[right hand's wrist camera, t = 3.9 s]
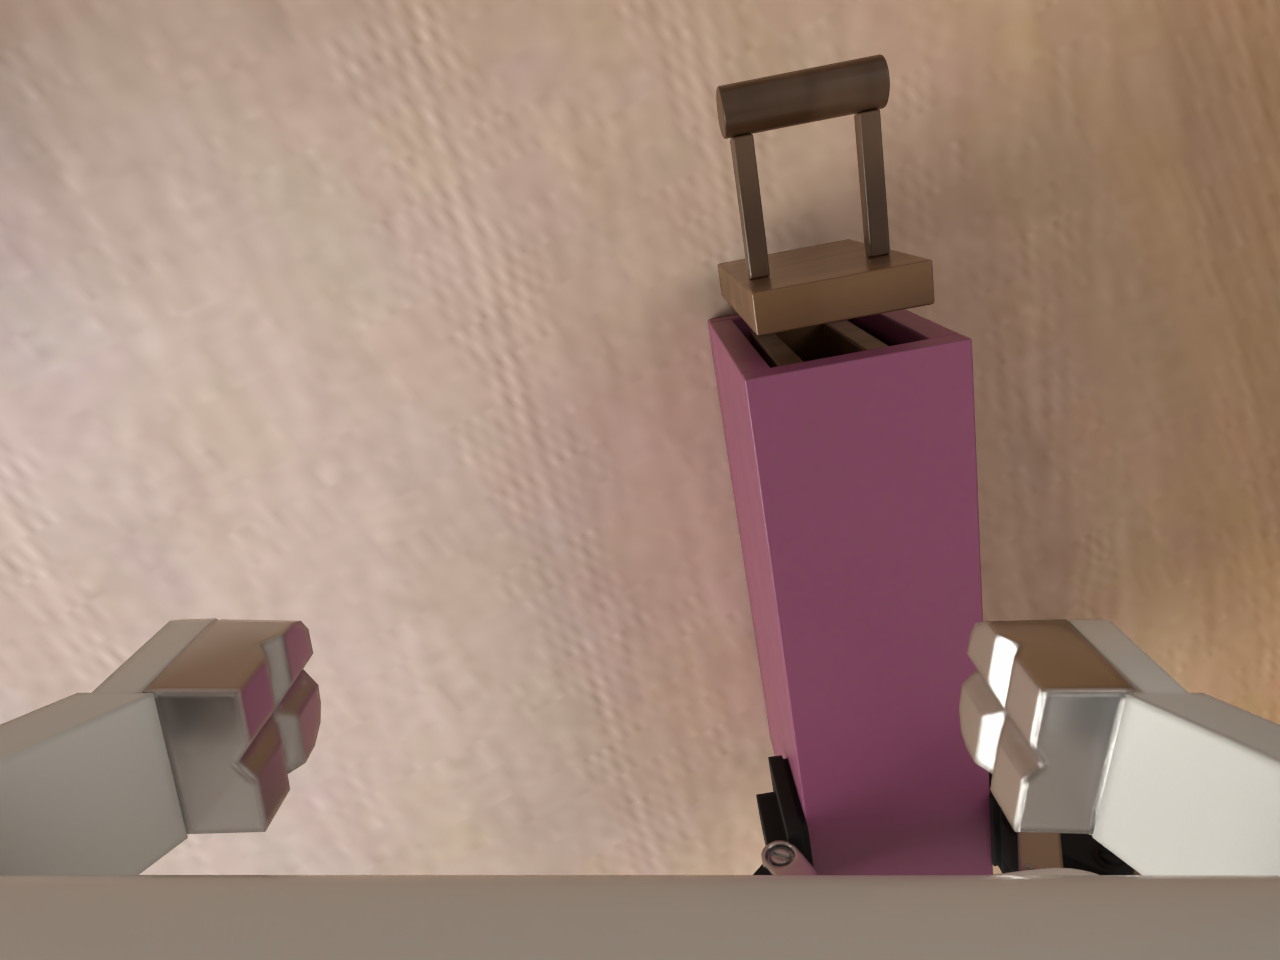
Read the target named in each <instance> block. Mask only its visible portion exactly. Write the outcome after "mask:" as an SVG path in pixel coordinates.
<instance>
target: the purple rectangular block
mask: <svg viewBox="0 0 1280 960" xmlns="http://www.w3.org/2000/svg"><path fill="white" fill-rule="evenodd" d="M848 321H849V322H851V323H853V324H854V325H856V326H857V327H859V328H861V329H862V330H864V331H866V332H867V333H869V334H870V335H872V336H874V337H875V338H877V339H879V340H880V341H882V342H884V343H885V344H887V345H888V347H883V348H877V349H872V350H866V351H861V352H855V353H850V354H844V355H839V356H833V357H827V358H822V359H816V360H811V361H805V362H800V363H794V364H789V365H783V366H778V367H772V368H770V367H769V366H768V365H767V363H766V362H765V361H764V360H763V358H762V357H761V356H760V355H759V353H758V352H757V351H756V350H755V348H754V347H753V346H752V345H751V343H750V339H749V331H750V330H752V329H751V328H750V327H749V326H748V324H747V323H746V322H745V321H744V320H743V319H742V318H741V316H740V315H739V314H736V315H730V316H725V317H719V318H714V319H709V320H708V327H709V333H710V340H711V347H712V353H713V360H714V367H715V373H716V380H717V386H718V393H719V400H720V406H721V413H722V419H723V426H724V433H725V439H726V446H727V453H728V459H729V466H730V472H731V479H732V486H733V492H734V499H735V506H736V512H737V519H738V525H739V532H740V539H741V545H742V552H743V558H744V565H745V572H746V578H747V585H748V592H749V598H750V605H751V611H752V618H753V625H754V631H755V638H756V644H757V651H758V658H759V664H760V671H761V678H762V684H763V691H764V697H765V704H766V711H767V717H768V724H769V730H770V737H771V742H772V746H773V749H774V753H775V756H779V755H782V757H783V759H785V758H787V759H788V762H789V765H790V769H791V772H792V776H793V779H794V783H795V786H796V790H797V793H798V797H799V800H800V804H801V807H802V811H803V814H804V818H805V821H806V823H807V827H808V832H809V838H810V845H811V852H812V859H813V866H814V868H815V870H816V871H817V872H818V873H819V874H820V875H993V866H992V856H991V832H990V807H989V794H990V791H989V772H988V771H987V770H985V769H984V768H982V767H981V766H979V765H977V764H976V763H974V761H973V759H972V757H971V755H970V753H969V752H968V750H967V748H966V745H965V742H964V739H963V736H962V733H961V725H960V715H959V704H960V696H961V687H962V684H963V683H964V682H965V681H966V680H967V679H968V678H969V677H970V676H971V675H972V674H973V673H974V672H975V671H976V670H977V668H976V667H975V665H974V664H973V662H972V661H971V659H970V657H969V656H968V654H967V649H968V644H969V638H970V634H971V632H972V630H973V627H974V625H975V623H978V622H983V614H982V589H981V564H980V539H979V513H978V488H977V463H976V438H975V413H974V388H973V362H972V340H971V339H970V338H968V337H965V336H963V335H961V334H958V333H956V332H954V331H952V330H950V329H947V328H945V327H943V326H941V325H938V324H936V323H934V322H932V321H930V320H927V319H925V318H923V317H921V316H918V315H916V314H914V313H912V312H910V311H907V310H905V309H903V310H897V311H892V312H886V313H881V314H875V315H870V316H865V317H859V318H854V319H848Z"/></svg>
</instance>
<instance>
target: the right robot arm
mask: <svg viewBox="0 0 1280 960" xmlns="http://www.w3.org/2000/svg"><path fill="white" fill-rule="evenodd" d="M312 654H313V650H312V645H311V640H310V635H309V630H308V628H307V627H306V626H305V625H304V624H303V623H302V622H301V621H277V620H224V619H222V620H218V619H181V620H173V621H169V622H168V623H167V624H166V625H165V626H164V627H163V628H162V629H161V630H159V631H158V632H157V633H156V634H155V635H154V636H153V637H152V638H151V639H150V640H149V641H147V642H146V643H145V644H144V645H143V646H142V647H141V648H140V649H139V650H138V651H137V652H135V653H134V654H133V655H132V656H131V657H130V658H129V659H128V660H127V661H126V662H125V663H123V664H122V665H121V666H120V667H119V668H118V669H117V670H116V671H115V672H114V673H113V674H111V675H110V676H109V677H108V678H107V679H106V680H105V681H104V682H103V683H102V684H101V685H99V686H98V687H97V688H96V689H95V690H94V691H93V692H92V693H76V694H74V695H71V696H69V697H67V698H64V699H62V700H59V701H57V702H54V703H52V704H50V705H47V706H45V707H42V708H40V709H38V710H35V711H33V712H30V713H28V714H25V715H23V716H21V717H18V718H16V719H13V720H11V721H9V722H6V723H4V724H1V725H0V960H1280V725H1279V724H1276V723H1274V722H1271V721H1269V720H1267V719H1264V718H1262V717H1259V716H1257V715H1254V714H1252V713H1250V712H1247V711H1245V710H1242V709H1240V708H1238V707H1235V706H1233V705H1230V704H1228V703H1225V702H1223V701H1221V700H1218V699H1216V698H1213V697H1211V696H1209V695H1206V694H1204V693H1188V692H1187V691H1186V690H1185V689H1184V688H1183V687H1182V686H1181V685H1180V684H1178V683H1177V682H1176V681H1175V680H1174V679H1173V678H1172V677H1171V676H1170V675H1169V674H1168V673H1166V672H1165V671H1164V670H1163V669H1162V668H1161V667H1160V666H1159V665H1158V664H1157V663H1156V662H1155V661H1153V660H1152V659H1151V658H1150V657H1149V656H1148V655H1147V654H1146V653H1145V652H1144V651H1143V650H1141V649H1140V648H1139V647H1138V646H1137V645H1136V644H1135V643H1134V642H1133V641H1132V640H1131V639H1130V638H1128V637H1127V636H1126V635H1125V634H1124V633H1123V632H1122V631H1121V630H1120V629H1119V628H1118V627H1116V626H1115V625H1114V624H1113V623H1112V622H1110V621H1107V620H1104V619H1100V618H1098V619H1074V620H1066V619H1065V620H1024V621H985V622H978V623H975V625H974V627H973V630H972V632H971V634H970V638H969V644H968V649H967V654H968V656H969V657H970V659H971V661H972V662H973V664H974V665H975V667H976V668H977V670H976V671H975V672H974V673H973V674H972V675H971V676H970V677H969V678H968V679H967V680H966V681H965V682H964V683H963V684H962V687H961V696H960V704H959V715H960V725H961V733H962V736H963V739H964V742H965V745H966V748H967V750H968V752H969V753H970V755H971V757H972V759H973V761H974V763H976V764H977V765H979V766H981V767H982V768H984V769H985V770H987V771H988V772H990V773H992V774H993V775H992V780H991V786H990V790H991V792H992V794H993V795H994V797H995V799H996V800H997V802H998V804H999V806H1000V807H1001V809H1002V811H1003V812H1004V814H1005V816H1006V817H1007V819H1008V821H1009V823H1010V824H1011V826H1012V828H1013V829H1014V831H1015V832H1040V833H1076V834H1093V836H1092V838H1094V839H1095V840H1096V841H1098V842H1099V843H1100V844H1102V845H1103V846H1104V847H1106V848H1107V849H1108V850H1110V851H1111V852H1112V853H1114V854H1115V855H1116V856H1118V857H1119V858H1120V859H1121V860H1123V861H1124V862H1125V863H1127V864H1128V865H1129V866H1131V867H1132V868H1133V869H1135V870H1136V871H1137V872H1139V873H1140V874H1141V875H139V874H140V873H142V872H143V871H144V870H146V869H147V868H148V867H150V866H151V865H152V864H154V863H155V862H156V861H157V860H159V859H160V858H161V857H163V856H164V855H165V854H167V853H168V852H169V851H171V850H172V849H173V848H175V847H176V846H177V845H179V844H180V843H181V842H183V841H184V840H185V839H187V837H188V836H187V834H203V833H238V832H265V831H266V830H267V828H268V826H269V824H270V823H271V821H272V819H273V818H274V816H275V814H276V812H277V811H278V809H279V807H280V806H281V804H282V802H283V801H284V799H285V797H286V795H287V794H288V792H289V790H290V786H289V780H288V775H287V774H288V773H290V772H292V771H293V770H295V769H296V768H298V767H299V766H301V765H303V764H304V763H306V761H307V759H308V757H309V755H310V753H311V751H312V750H313V748H314V746H315V742H316V738H317V734H318V730H319V726H320V717H321V701H320V694H319V687H318V684H317V683H316V682H315V681H314V680H313V679H312V678H311V677H310V676H309V675H308V674H307V673H306V672H305V671H304V670H303V668H304V667H305V665H306V664H307V662H308V661H309V659H310V657H311V656H312Z"/></svg>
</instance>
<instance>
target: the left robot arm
mask: <svg viewBox="0 0 1280 960" xmlns="http://www.w3.org/2000/svg"><path fill="white" fill-rule="evenodd" d="M768 759H769V765H770V772H771V778H772V785H773V791H774V792H770V793H764V794H758V795H756V796H757V803H758V809H759V815H760V820H761V825H762V830H763V835H764V840H765V845H766V846H765V847H764V849H763V851H762V854H761V855H762V863H763V864H762V865H761V867H760V868H759V869H758V870H757V871H756V872H755V873H754V874H753V875H820V874H819V873H818V872H817V871H816V870H815V868H814V866H813V859H812V852H811V845H810V838H809V832H808V827H807V823H806V821H805V818H804V814H803V811H802V807H801V804H800V800H799V797H798V793H797V790H796V786H795V783H794V779H793V776H792V772H791V769H790V765H789V762H788V759H787V758H785V759H783V757H782V755H779V756H773V757H768ZM992 775H993V774H992V773H990V772H989V791H990V794H989V807H990V832H991V856H992V864H993V865H994V866H999V868H1000V870H1001V872H1002V874H994V875H1141V874H1140V873H1139V872H1137V871H1136V870H1135V869H1133V868H1132V867H1131V866H1129V865H1128V864H1127V863H1125V862H1124V861H1123V860H1121V859H1120V858H1119V857H1118V856H1116V855H1115V854H1114V853H1112V852H1111V851H1110V850H1108V849H1107V848H1106V847H1104V846H1103V845H1102V844H1100V843H1099V842H1098V841H1096V840H1095V839H1094V838H1092V835H1089V834H1076V833H1040V832H1015V831H1014V829H1013V828H1012V826H1011V824H1010V823H1009V821H1008V819H1007V817H1006V816H1005V814H1004V812H1003V811H1002V809H1001V807H1000V806H999V804H998V802H997V800H996V799H995V797H994V795H993V794H992V792H991V790H990V786H991V780H992Z"/></svg>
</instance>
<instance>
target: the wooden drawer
mask: <svg viewBox="0 0 1280 960" xmlns="http://www.w3.org/2000/svg"><path fill="white" fill-rule="evenodd" d="M889 90H890V80H889V71H888V66H887V62H886V60H885V58H884V56H883V55H875V56H870V57H864V58H859V59H854V60H849V61H844V62H839V63H834V64H829V65H824V66H819V67H814V68H809V69H804V70H798V71H793V72H788V73H783V74H778V75H773V76H768V77H763V78H758V79H753V80H748V81H743V82H737V83H732V84H727V85H722V86H718V87H717V91H716V100H717V111H718V119H719V125H720V129H721V133H722V136H723V138H724V139H727V138H731V140H730V143H731V151H732V158H733V166H734V174H735V181H736V189H737V196H738V204H739V212H740V219H741V227H742V234H743V242H744V250H745V257H746V259H741V260H736V261H731V262H725V263H720V264H718V272H719V279H720V286H721V293H722V296H723V297H724V298H725V299H726V300H727V302H728V303H729V304H730V305H731V306H732V307H733V308H734V310H735V311H736V312H737V313H738V314H739V315H740V316H741V318H742V319H743V320H744V321H745V322H746V323H747V324H748V326H749V327H750V328H751V329H752V330H750V331H749V339H750V343H751V345H752V346H753V347H754V348H755V350H756V351H757V352H758V353H759V355H760V356H761V357H762V358H763V360H764V361H765V362H766V363H767V365H768V366H769V367H770V368H772V367H778V366H783V365H789V364H794V363H800V362H805V361H811V360H816V359H822V358H827V357H833V356H839V355H844V354H850V353H855V352H861V351H866V350H872V349H877V348H883V347H888V345H887V344H885V343H884V342H882V341H880V340H879V339H877V338H875V337H874V336H872V335H870V334H869V333H867V332H866V331H864V330H862V329H861V328H859V327H857V326H856V325H854V324H853V323H851V322H849V321H848V319H854V318H859V317H865V316H870V315H875V314H881V313H886V312H892V311H897V310H903V309H908V308H914V307H919V306H925V305H930V304H933V303H934V286H933V268H932V261H931V260H929V259H925V258H921V257H917V256H913V255H909V254H905V253H901V252H897V251H893V250H890V245H889V231H888V217H887V203H886V189H885V175H884V161H883V147H882V133H881V119H880V110H879V109H882V108H884V107H885V106H886V104H887V102H888V98H889ZM856 113H857V114H856ZM851 114H855V116H854V120H855V132H856V144H857V156H858V168H859V181H860V193H861V205H862V217H863V229H864V242H865V243H861V242H857V241H853V240H849V239H848V240H843V241H837V242H832V243H827V244H821V245H816V246H811V247H805V248H800V249H795V250H789V251H784V252H779V253H773V254H767V246H766V237H765V229H764V221H763V213H762V205H761V196H760V188H759V180H758V172H757V164H756V156H755V147H754V139H753V135H752V134H753V133H758V132H763V131H768V130H774V129H779V128H784V127H789V126H794V125H799V124H805V123H810V122H815V121H820V120H825V119H830V118H835V117H841V116H846V115H851ZM732 137H733V138H732Z"/></svg>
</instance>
